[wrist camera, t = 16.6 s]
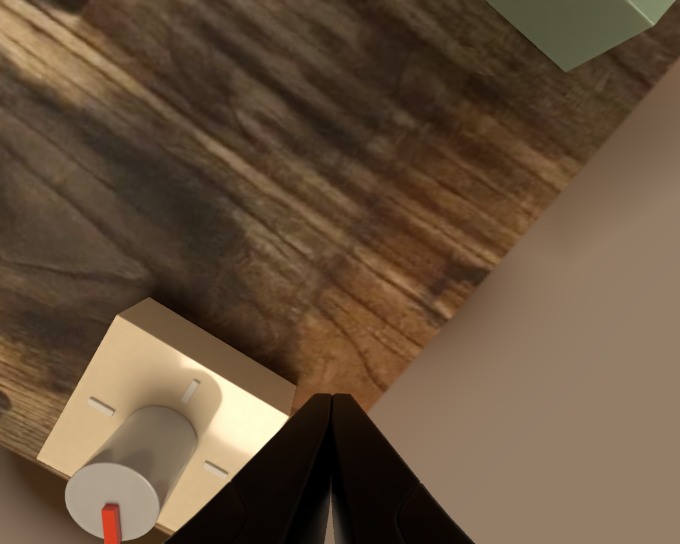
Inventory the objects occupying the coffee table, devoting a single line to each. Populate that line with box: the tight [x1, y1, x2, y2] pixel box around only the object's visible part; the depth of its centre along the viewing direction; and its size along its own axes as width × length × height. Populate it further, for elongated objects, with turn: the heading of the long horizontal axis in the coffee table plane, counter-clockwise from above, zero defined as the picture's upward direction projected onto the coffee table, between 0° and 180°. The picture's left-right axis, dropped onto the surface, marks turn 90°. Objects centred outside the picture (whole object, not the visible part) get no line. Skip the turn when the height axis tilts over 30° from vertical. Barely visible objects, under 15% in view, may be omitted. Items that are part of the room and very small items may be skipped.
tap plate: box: [37, 297, 297, 532], centre depth 20 cm, size 10×10×3 cm
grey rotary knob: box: [65, 406, 197, 544], centre depth 17 cm, size 4×4×4 cm
